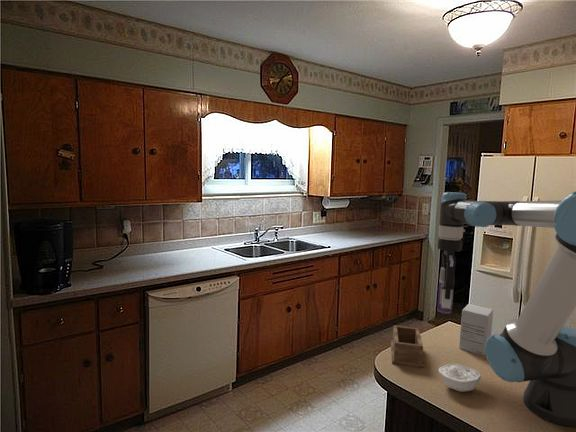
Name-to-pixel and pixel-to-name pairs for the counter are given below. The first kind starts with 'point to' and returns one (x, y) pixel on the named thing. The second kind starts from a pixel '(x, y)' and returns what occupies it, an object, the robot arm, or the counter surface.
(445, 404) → the counter surface
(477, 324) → the supplement box
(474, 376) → the cell model
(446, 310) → the container
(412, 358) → the open wooden box
